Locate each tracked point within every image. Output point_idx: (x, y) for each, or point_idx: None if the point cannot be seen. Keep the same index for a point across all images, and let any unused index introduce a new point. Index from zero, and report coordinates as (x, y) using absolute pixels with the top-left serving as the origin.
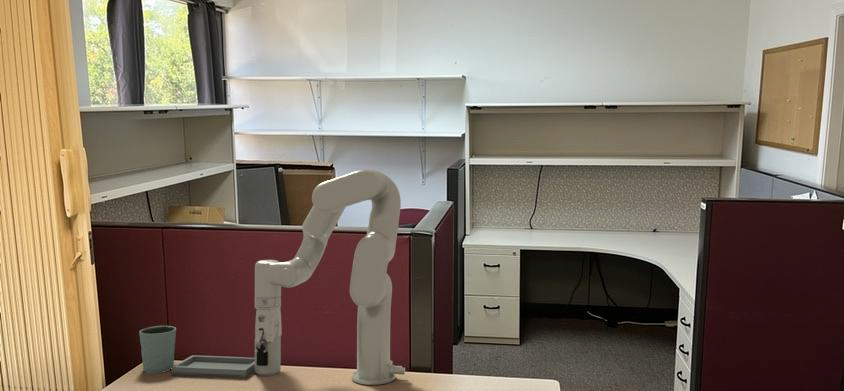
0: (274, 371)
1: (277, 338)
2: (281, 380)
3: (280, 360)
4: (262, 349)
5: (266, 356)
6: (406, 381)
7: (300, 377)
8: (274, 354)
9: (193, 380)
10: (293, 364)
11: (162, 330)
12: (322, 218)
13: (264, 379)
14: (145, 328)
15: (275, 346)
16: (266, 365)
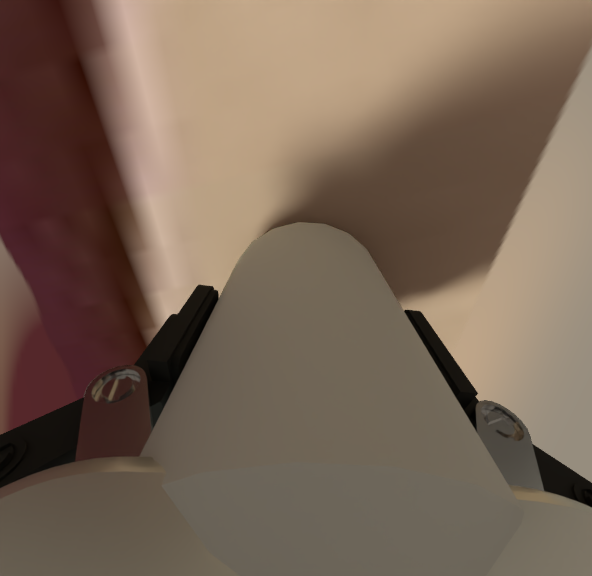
0: (364, 249)
1: (446, 517)
2: (470, 173)
3: (299, 245)
4: (557, 463)
5: (449, 364)
6: None
7: (439, 9)
8: (405, 319)
9: None
10: (100, 163)
11: None
12: None
13: (419, 276)
14: None
15: (438, 383)
16: (417, 314)
